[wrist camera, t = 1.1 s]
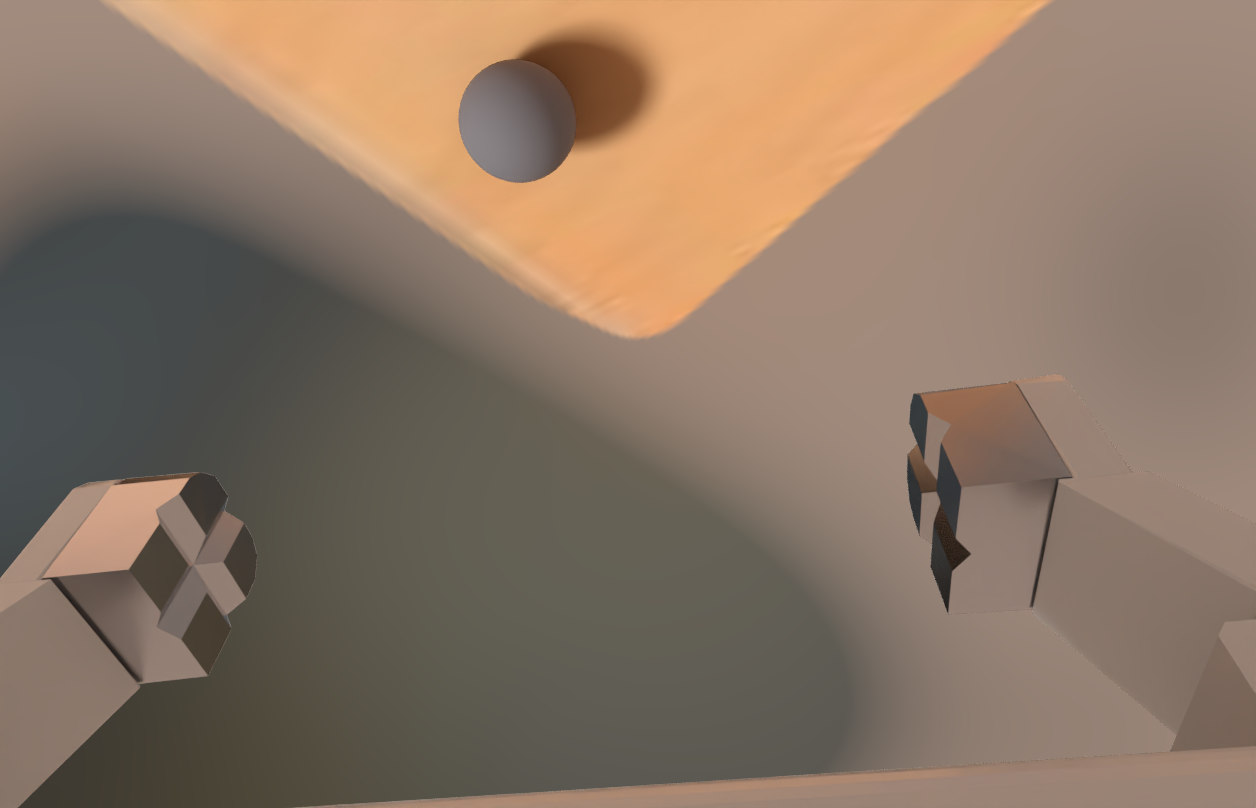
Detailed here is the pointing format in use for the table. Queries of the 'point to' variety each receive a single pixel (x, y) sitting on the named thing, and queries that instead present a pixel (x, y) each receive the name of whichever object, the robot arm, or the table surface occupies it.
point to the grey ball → (517, 121)
